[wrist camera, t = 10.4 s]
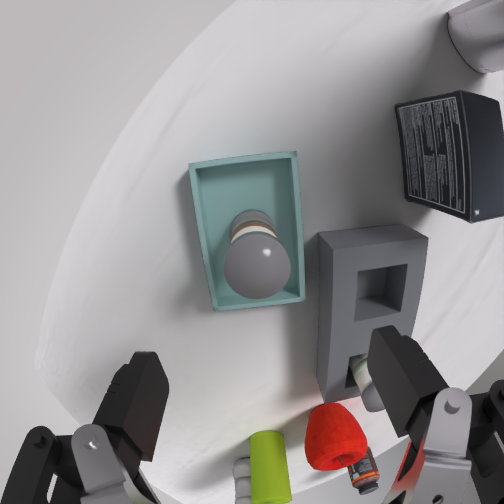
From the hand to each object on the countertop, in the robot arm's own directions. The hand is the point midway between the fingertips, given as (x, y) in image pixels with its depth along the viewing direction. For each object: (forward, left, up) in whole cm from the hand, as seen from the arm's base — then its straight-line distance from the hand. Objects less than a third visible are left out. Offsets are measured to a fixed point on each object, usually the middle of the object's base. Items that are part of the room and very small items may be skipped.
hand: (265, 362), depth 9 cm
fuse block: (+11, +11, -18) cm, 24 cm away
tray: (0, 0, -18) cm, 18 cm away
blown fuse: (0, 0, -17) cm, 17 cm away
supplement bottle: (+51, +17, -18) cm, 57 cm away
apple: (+30, +8, -18) cm, 36 cm away
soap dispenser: (+36, -2, -18) cm, 40 cm away
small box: (-7, +19, -18) cm, 28 cm away
